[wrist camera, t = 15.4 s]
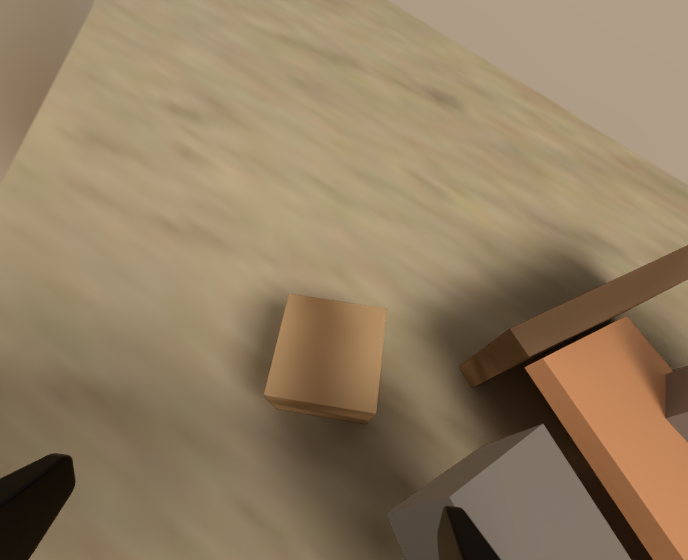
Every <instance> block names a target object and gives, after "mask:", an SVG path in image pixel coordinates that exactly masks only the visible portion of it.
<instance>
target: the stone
mask: <svg viewBox="0 0 688 560" xmlns="http://www.w3.org/2000/svg"><path fill="white" fill-rule="evenodd" d="M665 418H666V420H667V421H668V422H669V423H670V424H671V425H672V426H673V427H674V428H675V429H676V430H677V431H678V433H679V434H680V435H681V436H682V437H683V438H684V439H685V440H686V441H687V442H688V366H687V367H684V368H681V369H679V370H676V371H673V372H670V373H668V374H666V404H665Z"/></svg>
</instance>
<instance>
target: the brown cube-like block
mask: <svg viewBox="0 0 688 560" xmlns="http://www.w3.org/2000/svg"><path fill="white" fill-rule="evenodd" d="M386 315H387V309H384V308H378V307H372V306H365V305H359V304H352V303H346V302H339V301H333V300H327V299H320V298H314V297H307V296H301V295H294V294H289V295H288V299H287V303H286V307H285V311H284V315H283V319H282V323H281V327H280V331H279V335H278V339H277V343H276V347H275V351H274V355H273V359H272V364H271V368H270V372H269V376H268V380H267V384H266V388H265V392H264V396H265V397H266V398H267V399H268V400H269V401H270V402H271V403H272V404H273V406H274V407H275V408H276V409H280V410H285V411H291V412H297V413H303V414H309V415H315V416H321V417H327V418H333V419H339V420H345V421H351V422H357V423H363V424H367V423H368V422H369V421H370V420H371V419H372V418H373V417H374V415H375V414H376V410H377V400H378V391H379V381H380V372H381V363H382V353H383V344H384V334H385V325H386Z"/></svg>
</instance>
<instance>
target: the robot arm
mask: <svg viewBox="0 0 688 560" xmlns="http://www.w3.org/2000/svg"><path fill="white" fill-rule="evenodd" d="M74 486H75V474H74V467H73V460H72V458H71V456H69V455H65V454H57V453H53V454H49V455H47V456H45V457H43V458H41V459H39V460H37V461H35V462H33V463H31V464H29V465H27V466H25V467H23V468H21V469H19V470H17V471H15V472H13V473H11V474H9V475H7V476H5V477H3V478H1V479H0V560H29V558H30V557H31V555H32V554H33V552H34V551H35V549H36V548H37V546H38V544H39V543H40V541H41V540H42V538H43V537H44V535H45V534H46V532H47V531H48V529H49V527H50V526H51V524H52V523H53V521H54V520H55V518H56V517H57V515H58V513H59V512H60V510H61V509H62V507H63V506H64V504H65V503H66V501H67V499H68V498H69V496H70V495H71V493H72V491H73V489H74ZM437 544H438V554H439V560H501V559H500V557H499V556H498V555H497V553H496V552H495V551H494V549H493V548H492V547H491V545H490V544H489V543H488V541H487V540H486V539H485V537H484V536H483V535H482V533H481V532H480V531H479V529H478V528H477V527H476V525H475V524H474V523H473V521H472V520H471V519H470V517H469V516H468V514H467V513H466V512H465V511H464V510H463V509H462V508H461V507H455V506H445V507H444V508H443V511H442V515H441V519H440V523H439V527H438V532H437Z"/></svg>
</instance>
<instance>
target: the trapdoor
mask: <svg viewBox="0 0 688 560" xmlns="http://www.w3.org/2000/svg"><path fill="white" fill-rule="evenodd" d="M524 368H525V369H526V371H527V372H528V374H529V375H530V377H531V378H532V380H533V381H534V383H535V384H536V386H537V387H538V388H539V390H540V391H541V393H542V394H543V396H544V397H545V399H546V400H547V402H548V403H549V405H550V406H551V408H552V409H553V411H554V412H555V414H556V415H557V417H558V418H559V420H560V421H561V423H562V424H563V426H564V427H565V429H566V430H567V432H568V433H569V435H570V436H571V438H572V439H573V441H574V442H575V444H576V445H577V447H578V448H579V450H580V451H581V453H582V454H583V456H584V457H585V459H586V460H587V462H588V463H589V465H590V466H591V468H592V469H593V471H594V472H595V474H596V475H597V477H598V478H599V480H600V481H601V483H602V484H603V486H604V487H605V489H606V490H607V492H608V493H609V495H610V496H611V498H612V499H613V501H614V502H615V504H616V505H617V507H618V508H619V509H620V511H621V512H622V514H623V515H624V517H625V518H626V520H627V521H628V523H629V524H630V526H631V527H632V529H633V530H634V532H635V533H636V535H637V536H638V538H639V539H640V541H641V542H642V544H643V545H644V547H645V548H646V550H647V551H648V553H649V554H650V556H651V557H652V559H653V560H688V442H687V441H686V440H685V439H684V438H683V437H682V436H681V435H680V434H679V433H678V431H677V430H676V429H675V428H674V427H673V426H672V425H671V424H670V423H669V422H668V421H667V420H666V418H665V404H666V374H668V373H670V372H673V370H672V369H671V368H670V367H669V366H668V364H667V363H666V362H665V361H664V360H663V358H662V357H661V356H660V355H659V354H658V353H657V351H656V350H655V349H654V348H653V347H652V345H651V344H650V343H649V342H648V341H647V340H646V338H645V337H644V336H643V335H642V334H641V332H640V331H639V330H638V329H637V328H636V327H635V325H634V324H633V323H632V322H631V321H630V319H629V318H628V317H627V316H626V317H624V318H622V319H620V320H618V321H616V322H614V323H612V324H610V325H608V326H606V327H604V328H602V329H600V330H598V331H596V332H594V333H592V334H590V335H588V336H586V337H584V338H582V339H580V340H578V341H576V342H574V343H572V344H570V345H568V346H566V347H564V348H562V349H560V350H558V351H556V352H554V353H552V354H550V355H548V356H546V357H544V358H542V359H540V360H538V361H536V362H534V363H532V364H530V365H528V366H526V367H524ZM445 506H455V507H461V508H462V509H463V510H464V511H465V512H466V513H467V514H468V516H469V517H470V519H471V520H472V521H473V523H474V524H475V525H476V527H477V528H478V529H479V531H480V532H481V533H482V535H483V536H484V537H485V539H486V540H487V541H488V543H489V544H490V545H491V547H492V548H493V549H494V551H495V552H496V553H497V555H498V556H499V557H500V559H501V560H631V558H630V557H629V555H628V554H627V552H626V551H625V549H624V548H623V546H622V545H621V543H620V542H619V540H618V538H617V537H616V535H615V534H614V532H613V531H612V529H611V528H610V526H609V525H608V523H607V521H606V520H605V518H604V517H603V515H602V514H601V512H600V511H599V509H598V508H597V506H596V504H595V503H594V501H593V500H592V498H591V497H590V495H589V494H588V492H587V491H586V489H585V487H584V486H583V484H582V483H581V481H580V480H579V478H578V477H577V475H576V474H575V472H574V470H573V469H572V467H571V466H570V464H569V463H568V461H567V460H566V458H565V457H564V455H563V454H562V452H561V450H560V449H559V447H558V446H557V444H556V443H555V441H554V440H553V438H552V437H551V435H550V433H549V432H548V430H547V429H546V427H545V426H544V424H541V425H538V426H535V427H532V428H530V429H527V430H524V431H521V432H519V433H516V434H513V435H510V436H508V437H505V438H502V439H499V440H497V441H494V442H491V443H488V444H485V445H483V446H481V447H480V448H479V449H477V450H476V451H474V452H473V453H471V454H470V455H469V456H467V457H466V458H464V459H463V460H461V461H460V462H459V463H457V464H456V465H454V466H453V467H451V468H450V469H448V470H447V471H446V472H444V473H443V474H441V475H440V476H438V477H437V478H436V479H434V480H433V481H431V482H430V483H428V484H427V485H426V486H424V487H423V488H421V489H420V490H418V491H417V492H415V493H414V494H413V495H411V496H410V497H408V498H407V499H405V500H404V501H403V502H401V503H400V504H398V505H397V506H395V507H394V508H393V509H391V510H390V511H388V512H387V513H386V515H387V517H388V520H389V522H390V524H391V527H392V529H393V531H394V534H395V536H396V539H397V541H398V543H399V546H400V548H401V550H402V553H403V555H404V557H405V560H439V554H438V544H437V532H438V527H439V523H440V519H441V515H442V511H443V508H444V507H445Z"/></svg>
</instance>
